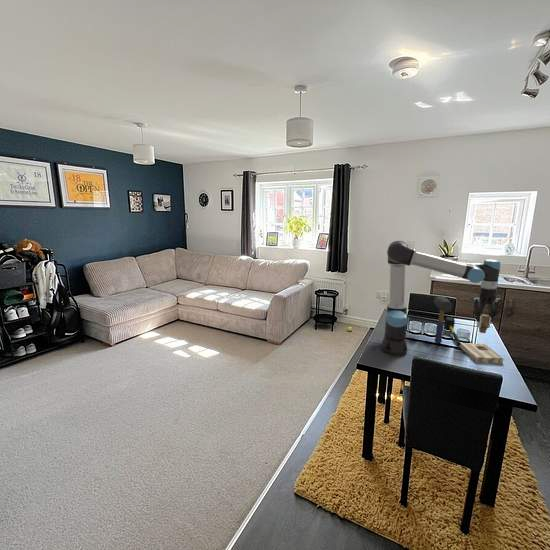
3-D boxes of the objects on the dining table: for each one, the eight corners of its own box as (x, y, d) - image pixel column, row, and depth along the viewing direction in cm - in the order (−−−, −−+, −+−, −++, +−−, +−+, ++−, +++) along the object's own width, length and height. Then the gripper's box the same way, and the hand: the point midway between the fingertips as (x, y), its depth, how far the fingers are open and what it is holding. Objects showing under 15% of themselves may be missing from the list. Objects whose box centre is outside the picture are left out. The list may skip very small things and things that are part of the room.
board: (475, 362, 167) (476, 357, 167) (459, 347, 185) (460, 342, 184) (502, 363, 166) (503, 358, 165) (483, 348, 184) (484, 343, 183)
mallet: (464, 347, 185) (466, 333, 183) (453, 346, 187) (455, 332, 185) (451, 329, 212) (453, 316, 210) (442, 328, 214) (444, 315, 212)
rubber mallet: (448, 347, 184) (454, 301, 178) (435, 347, 185) (441, 300, 179) (440, 339, 196) (446, 295, 190) (428, 338, 197) (433, 294, 191)
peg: (480, 333, 171) (482, 316, 169) (476, 330, 175) (478, 314, 173) (488, 333, 170) (490, 317, 168) (484, 330, 174) (486, 314, 172)
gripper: (475, 289, 164) (470, 329, 169) (509, 289, 162) (503, 330, 167) (468, 285, 171) (463, 324, 177) (501, 286, 169) (495, 325, 174)
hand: (483, 326), depth 172 cm, fingers closed on peg, 4 cm apart
